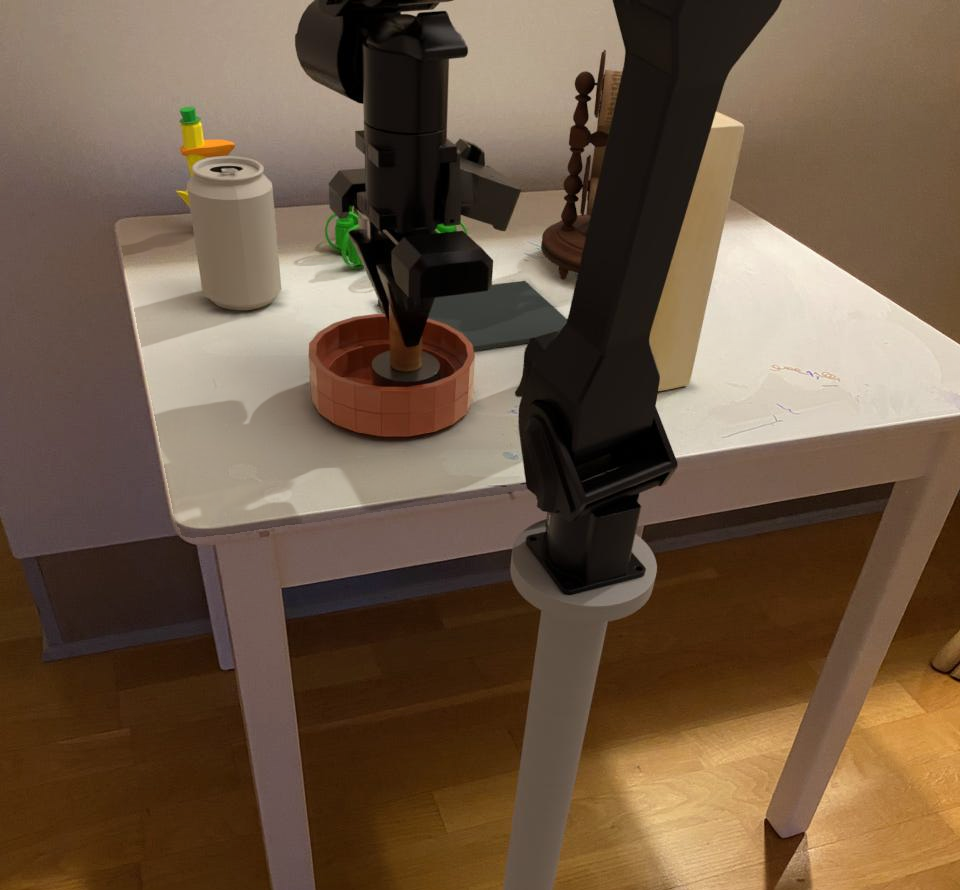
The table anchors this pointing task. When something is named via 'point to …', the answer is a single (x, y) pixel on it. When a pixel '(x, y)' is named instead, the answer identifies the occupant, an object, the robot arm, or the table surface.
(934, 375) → the table surface
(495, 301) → the mat
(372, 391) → the bowl
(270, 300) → the can
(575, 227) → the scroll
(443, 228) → the chandelier
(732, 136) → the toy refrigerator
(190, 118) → the toy figure
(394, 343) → the coffee tamper
